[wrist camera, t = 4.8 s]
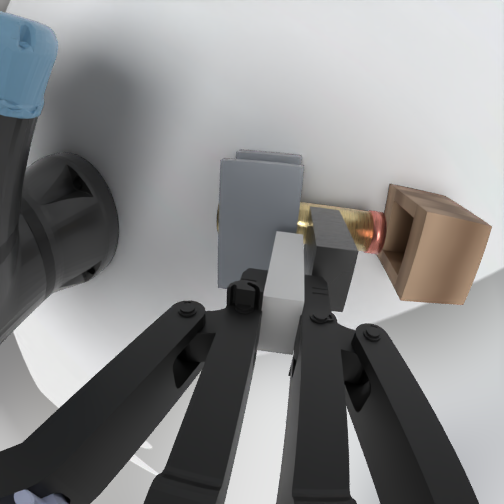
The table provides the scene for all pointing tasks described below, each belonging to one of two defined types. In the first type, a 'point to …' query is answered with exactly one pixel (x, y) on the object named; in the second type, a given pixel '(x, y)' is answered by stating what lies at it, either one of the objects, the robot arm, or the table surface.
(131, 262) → the table surface
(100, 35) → the table surface
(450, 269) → the socket block
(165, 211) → the table surface
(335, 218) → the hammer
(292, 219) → the grey slotted clamp block
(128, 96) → the table surface
